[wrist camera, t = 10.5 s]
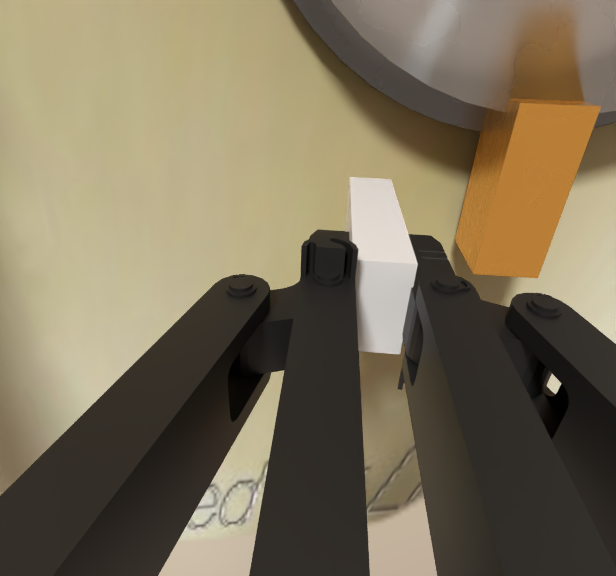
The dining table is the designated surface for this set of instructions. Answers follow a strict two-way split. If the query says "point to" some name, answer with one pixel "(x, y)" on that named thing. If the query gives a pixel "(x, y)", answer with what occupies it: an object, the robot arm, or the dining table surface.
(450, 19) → the turntable
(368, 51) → the turntable base
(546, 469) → the robot arm
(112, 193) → the dining table surface
